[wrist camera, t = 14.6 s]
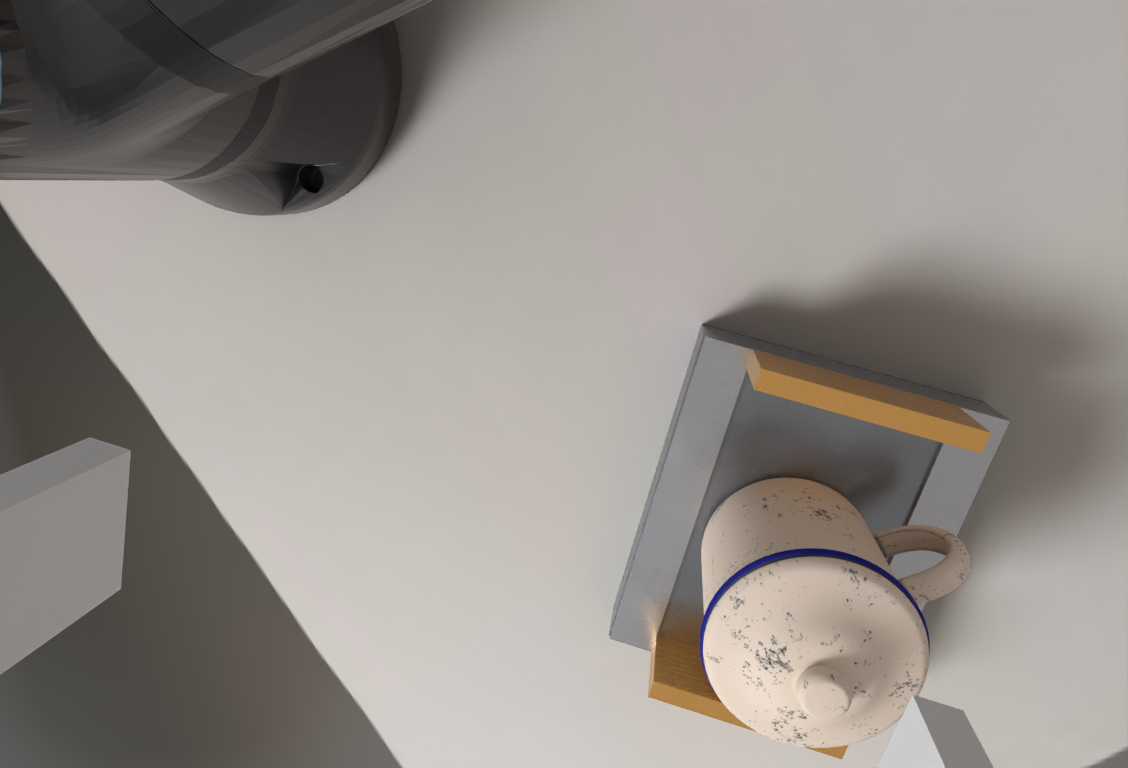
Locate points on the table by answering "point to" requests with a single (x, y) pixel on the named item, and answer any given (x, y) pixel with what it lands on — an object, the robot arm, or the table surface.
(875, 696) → the teacup with lid
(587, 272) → the table surface
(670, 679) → the grey tray
